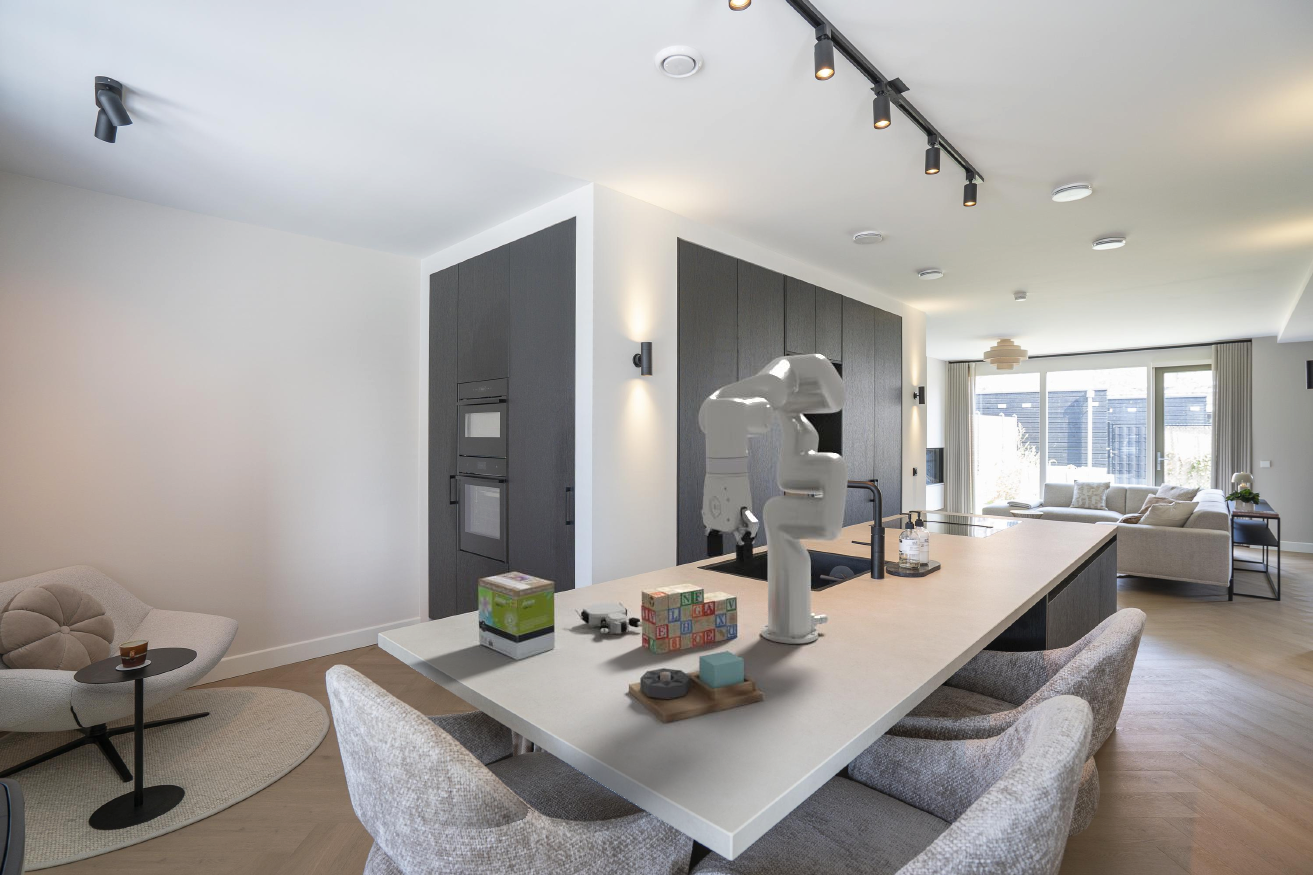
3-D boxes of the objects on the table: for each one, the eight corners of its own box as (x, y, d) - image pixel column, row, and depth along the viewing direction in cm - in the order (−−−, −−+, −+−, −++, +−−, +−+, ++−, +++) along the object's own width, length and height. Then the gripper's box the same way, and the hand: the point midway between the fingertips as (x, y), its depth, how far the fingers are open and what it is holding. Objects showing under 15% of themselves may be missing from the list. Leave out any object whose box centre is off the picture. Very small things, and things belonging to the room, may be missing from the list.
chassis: (719, 672, 121) (719, 650, 121) (763, 699, 109) (763, 675, 109) (628, 691, 113) (628, 667, 113) (664, 722, 100) (664, 696, 100)
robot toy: (648, 636, 147) (618, 615, 160) (648, 617, 147) (619, 598, 159) (600, 645, 141) (573, 623, 153) (600, 625, 140) (573, 605, 153)
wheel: (674, 676, 115) (674, 665, 115) (697, 692, 108) (696, 681, 108) (634, 684, 112) (634, 673, 112) (654, 701, 104) (654, 689, 104)
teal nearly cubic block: (727, 678, 115) (727, 650, 115) (743, 688, 110) (743, 659, 110) (699, 684, 112) (699, 656, 112) (714, 694, 108) (714, 665, 108)
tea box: (476, 645, 138) (476, 577, 138) (515, 634, 146) (515, 570, 146) (517, 661, 128) (516, 588, 128) (556, 649, 136) (556, 580, 136)
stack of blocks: (721, 630, 148) (721, 577, 148) (738, 637, 142) (737, 583, 142) (641, 646, 137) (640, 589, 137) (655, 654, 132) (655, 595, 132)
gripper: (685, 465, 120) (688, 554, 121) (736, 471, 105) (738, 574, 106) (719, 462, 124) (721, 549, 124) (773, 468, 108) (775, 568, 109)
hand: (729, 560), depth 115 cm, fingers open, 9 cm apart
